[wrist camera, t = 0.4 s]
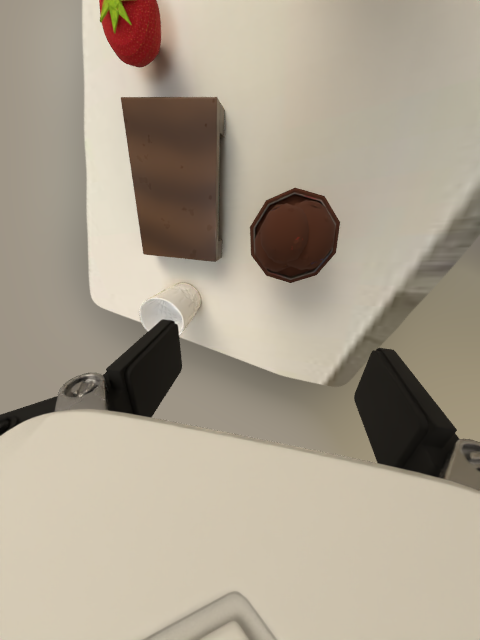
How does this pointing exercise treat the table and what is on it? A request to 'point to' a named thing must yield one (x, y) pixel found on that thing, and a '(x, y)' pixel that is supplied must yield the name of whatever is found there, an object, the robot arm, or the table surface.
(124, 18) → the strawberry
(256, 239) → the ice cream bowl
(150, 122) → the panel
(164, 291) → the white cup
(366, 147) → the table surface
